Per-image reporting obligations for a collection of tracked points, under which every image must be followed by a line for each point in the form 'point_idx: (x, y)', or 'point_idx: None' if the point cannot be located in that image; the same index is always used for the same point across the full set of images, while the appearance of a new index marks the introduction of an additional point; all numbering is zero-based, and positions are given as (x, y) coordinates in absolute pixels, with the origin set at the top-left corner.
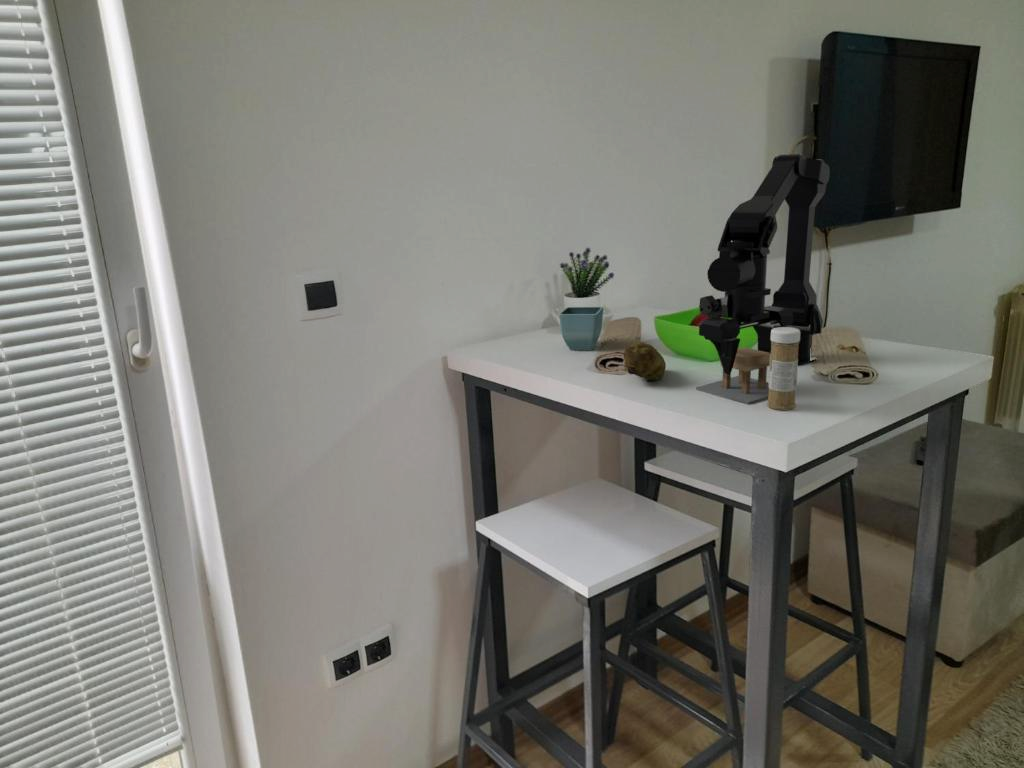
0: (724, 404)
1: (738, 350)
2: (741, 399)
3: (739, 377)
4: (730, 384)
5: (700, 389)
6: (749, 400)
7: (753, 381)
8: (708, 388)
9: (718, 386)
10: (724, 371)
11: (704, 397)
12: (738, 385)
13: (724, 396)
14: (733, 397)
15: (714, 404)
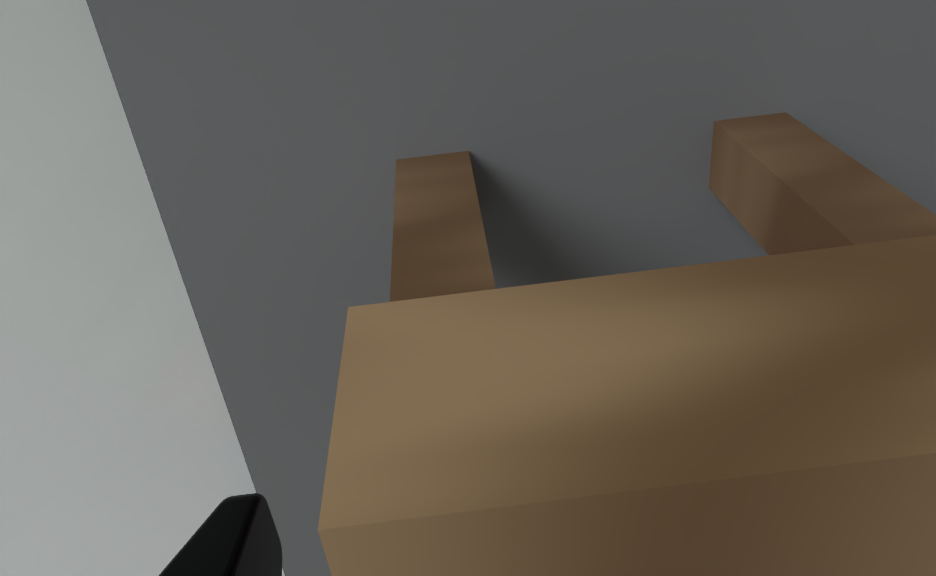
0: (107, 498)
1: (880, 571)
2: (289, 530)
3: (744, 165)
4: (584, 114)
5: (98, 24)
6: (330, 573)
7: (893, 181)
8: (205, 90)
9: (386, 96)
10: (216, 518)
11: (21, 260)
12: (625, 201)
13: (224, 378)
14: (262, 465)
15: (14, 462)
